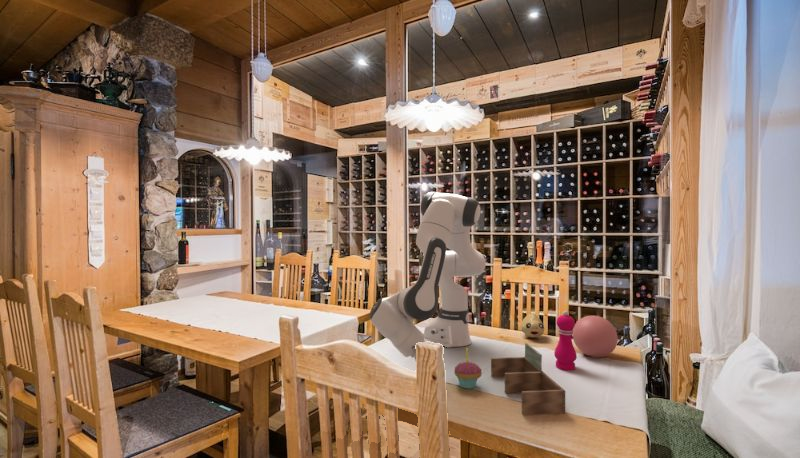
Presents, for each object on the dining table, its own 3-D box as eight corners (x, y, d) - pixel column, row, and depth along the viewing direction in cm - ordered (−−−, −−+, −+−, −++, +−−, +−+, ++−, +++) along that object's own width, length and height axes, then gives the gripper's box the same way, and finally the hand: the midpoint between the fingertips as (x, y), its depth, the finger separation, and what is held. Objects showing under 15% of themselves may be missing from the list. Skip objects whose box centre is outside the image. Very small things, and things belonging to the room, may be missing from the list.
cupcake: (452, 380, 127) (452, 343, 127) (478, 379, 128) (478, 343, 128) (457, 391, 119) (457, 352, 119) (484, 391, 119) (485, 352, 119)
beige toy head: (522, 341, 168) (523, 317, 168) (519, 333, 180) (519, 310, 180) (547, 343, 166) (547, 318, 166) (542, 334, 178) (542, 311, 178)
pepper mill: (552, 363, 143) (552, 308, 142) (573, 364, 142) (573, 309, 141) (556, 370, 136) (557, 312, 135) (579, 371, 134) (579, 313, 134)
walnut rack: (522, 414, 105) (522, 373, 104) (491, 375, 131) (491, 343, 131) (565, 412, 106) (565, 372, 106) (525, 374, 132) (525, 342, 132)
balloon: (599, 346, 162) (599, 309, 162) (625, 363, 142) (626, 321, 142) (561, 345, 163) (561, 308, 162) (582, 363, 143) (583, 321, 142)
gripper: (423, 345, 111) (457, 378, 112) (414, 326, 132) (442, 354, 133) (407, 361, 111) (441, 394, 112) (400, 339, 131) (429, 367, 132)
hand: (442, 372), depth 123 cm, fingers closed
